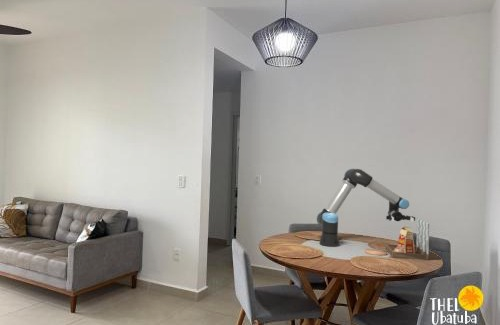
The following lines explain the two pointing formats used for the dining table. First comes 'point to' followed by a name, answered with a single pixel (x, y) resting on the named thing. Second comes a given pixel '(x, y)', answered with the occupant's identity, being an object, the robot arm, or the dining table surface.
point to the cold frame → (420, 247)
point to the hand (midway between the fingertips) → (403, 219)
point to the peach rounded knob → (397, 250)
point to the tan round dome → (375, 252)
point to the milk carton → (406, 240)
